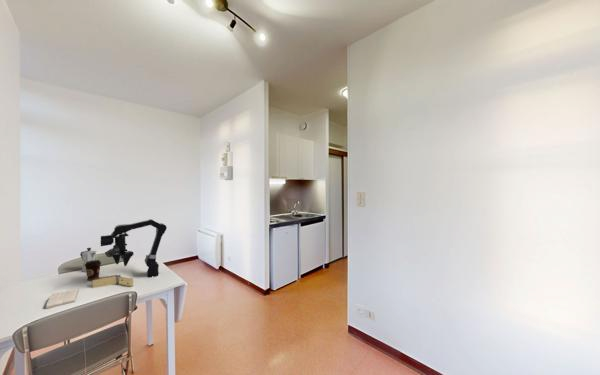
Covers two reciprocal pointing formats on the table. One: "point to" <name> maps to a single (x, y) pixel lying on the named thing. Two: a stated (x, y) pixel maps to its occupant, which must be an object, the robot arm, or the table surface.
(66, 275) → the table surface
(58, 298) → the washcloth
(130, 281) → the swing leaf
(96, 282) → the block
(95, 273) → the brown rounded piece
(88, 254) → the coffee maker
